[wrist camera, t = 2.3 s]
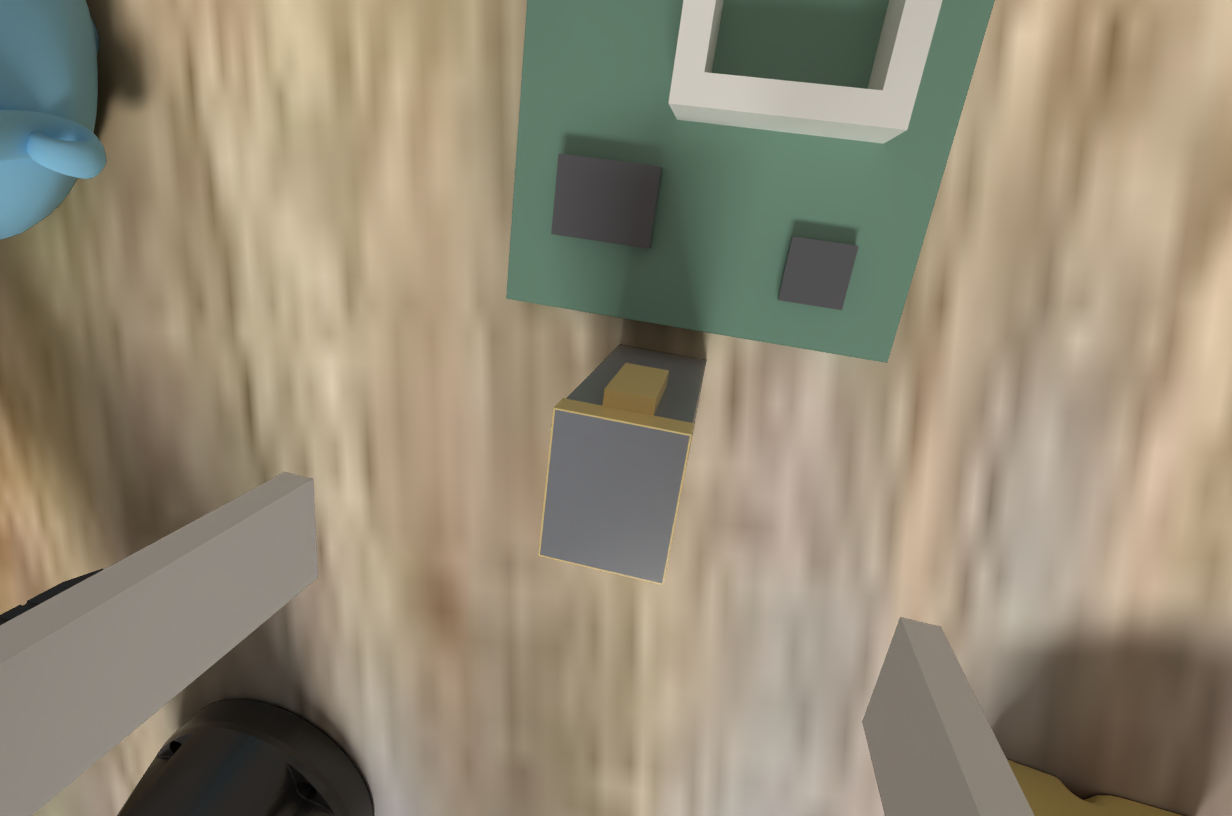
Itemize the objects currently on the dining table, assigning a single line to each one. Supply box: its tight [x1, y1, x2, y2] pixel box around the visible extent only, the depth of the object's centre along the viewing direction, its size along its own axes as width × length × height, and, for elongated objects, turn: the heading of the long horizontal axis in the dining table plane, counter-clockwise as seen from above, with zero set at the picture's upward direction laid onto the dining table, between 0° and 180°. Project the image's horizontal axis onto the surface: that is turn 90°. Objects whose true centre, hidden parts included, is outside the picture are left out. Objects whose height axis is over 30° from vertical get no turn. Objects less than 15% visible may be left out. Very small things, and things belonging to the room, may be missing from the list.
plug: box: [538, 345, 706, 585], centre depth 22 cm, size 4×6×10 cm
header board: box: [506, 0, 995, 363], centre depth 20 cm, size 16×18×4 cm
